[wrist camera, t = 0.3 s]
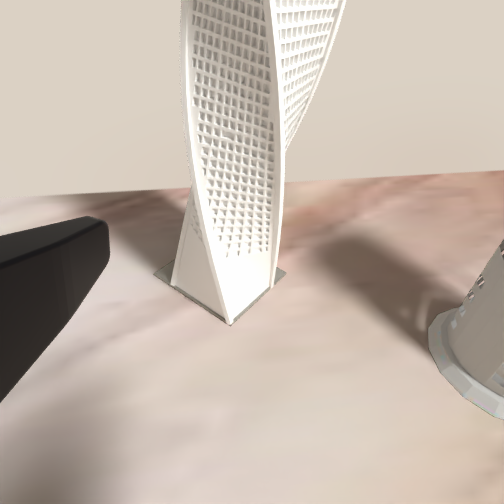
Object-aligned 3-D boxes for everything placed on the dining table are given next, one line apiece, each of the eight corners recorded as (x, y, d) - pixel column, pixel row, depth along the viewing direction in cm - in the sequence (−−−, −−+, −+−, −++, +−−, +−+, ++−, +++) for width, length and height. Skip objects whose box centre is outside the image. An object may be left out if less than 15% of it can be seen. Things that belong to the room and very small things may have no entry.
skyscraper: (301, 286, 34) (468, -268, 16) (237, 351, 28) (384, -381, 11) (215, 235, 37) (275, -275, 19) (142, 285, 31) (132, -365, 14)
